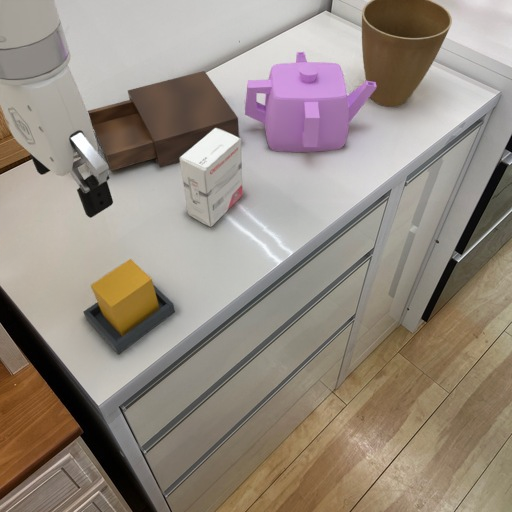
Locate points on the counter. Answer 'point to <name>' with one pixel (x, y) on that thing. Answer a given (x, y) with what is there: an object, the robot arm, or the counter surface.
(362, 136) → the counter surface
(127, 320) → the box
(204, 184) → the ink box
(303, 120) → the teakettle
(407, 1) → the plant pot
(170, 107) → the cabinet
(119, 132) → the drawer
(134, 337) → the dark grey tray
